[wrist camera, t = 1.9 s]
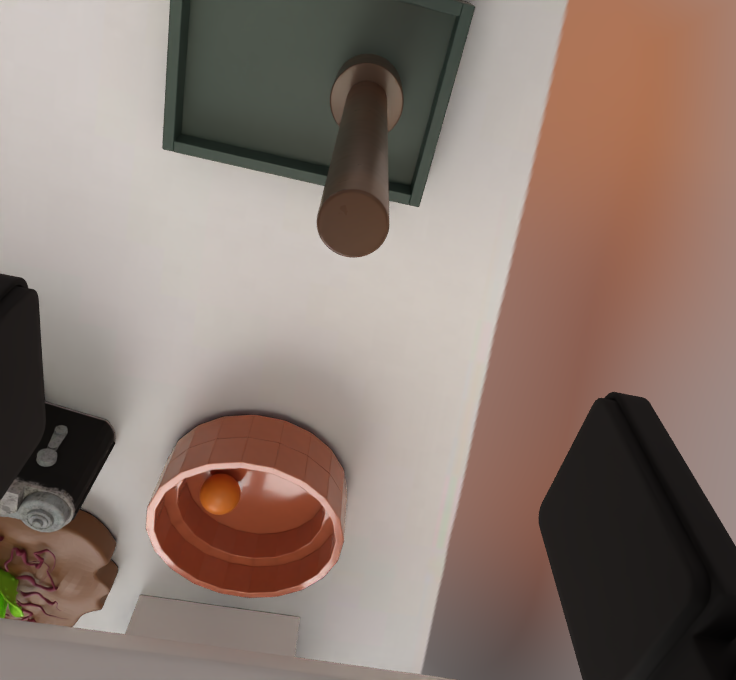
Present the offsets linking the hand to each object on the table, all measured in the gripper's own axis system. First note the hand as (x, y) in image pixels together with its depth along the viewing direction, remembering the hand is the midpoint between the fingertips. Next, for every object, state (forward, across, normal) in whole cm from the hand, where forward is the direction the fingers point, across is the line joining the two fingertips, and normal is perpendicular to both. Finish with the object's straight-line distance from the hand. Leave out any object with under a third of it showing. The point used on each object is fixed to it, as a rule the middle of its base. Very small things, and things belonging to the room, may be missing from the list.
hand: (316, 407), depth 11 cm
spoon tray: (+28, +2, 0) cm, 28 cm away
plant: (+28, +23, +44) cm, 57 cm away
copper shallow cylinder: (+28, +2, +30) cm, 41 cm away
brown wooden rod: (+27, -1, 0) cm, 27 cm away
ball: (+26, +4, +30) cm, 39 cm away
